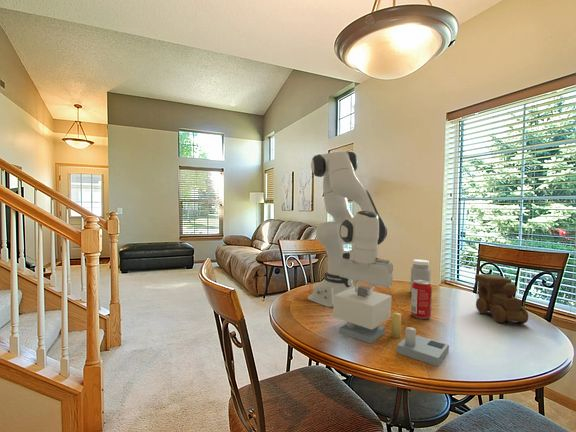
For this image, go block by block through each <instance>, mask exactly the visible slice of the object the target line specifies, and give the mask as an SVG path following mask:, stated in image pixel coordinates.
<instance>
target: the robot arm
mask: <svg viewBox="0 0 576 432" xmlns="http://www.w3.org/2000/svg"><path fill="white" fill-rule="evenodd" d="M358 165H359V159H358V156H357V154H356V153H355V152H354V151H333V152H328V153H323V154H316V155H313V157H312V158H311V162H310V169H311V172H312V173H313V175H314V176H315V177H318V178H322V177H323V179H322V180H323V181H322V192H323V193H322V195H323V200H324V201H323V202H324V209H325V212H326V213H327V214H329V215H330V216H331V217H332V218H333V219H334V221H326V222H322V223H321V222H320V223H319V224H318V225H317V227H316V230H315V237H316V240H317V241H318V242H319V243H320V244H321V245H322V247H323V248H324V250H325V253H326V256H327V272H325V273H323V274H322V276H323V277H324V278H323V280H322V281H319V283H317V284H315V285H314V286H313V289H312V294H309V295H308V296H307V300H309V301H311V302H314V303H316V304H319V305H322V306H324V307H327V308H333V307H334V295H335V294H338V293H340V292H343V291H345V290H348V289H350V288H352V285H353V287H355V292H357V293H358V287H360V286H359V282H360V283H365V284H368V287H369V289H368V290H366V295H368V296H371V295H372V291H374V289H375V287H376V286H378V287H382V288H389V287H391V286H392V285H393V283H394V282H393V281H394V279H393V271H394V265H393V264H394V263H392V262H391V261H390V260H388V259H383V258H378V257H379V246H378V245H380V244H382V243H383V242H384V241H385V240H386V238H387V237H388V228H387V225H386V224H385V222H384V221H383V219H382V217H381V216H380V214H379V212H378V209H377V207H376V205H375V203H374V200H373V199H372V196H371V193H370V192H369V190H368V189H367V188H366V186H365V185H363V184H362V182H361V181H360V180H359V179H358V178H357V175H356V171H357V169H358ZM349 200H350V201H352V202H355V203H356V204H357V205H358V206H359V208H360V209H361V211H360V210H359V211H357V212H356V213H355V214H354V215H355V216H354V215H353V213H352V212H351V209H350V206H349V202H348V201H349ZM344 245H352V250H347V251H345V248H344Z"/></svg>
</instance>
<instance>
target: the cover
mask: <svg viewBox="0 0 576 432" xmlns="http://www.w3.org/2000/svg"><path fill="white" fill-rule="evenodd" d="M368 289H370V287H369V286H365V285H360V286H359V287H358V293H357V292H355V287H354V286H353V287H351V288H350V289H348V290H345V291H343V292H340V293H338V294H335V295H334V307H332V309H333V310H332V311H333V313H332V317H333V318H336V319H339V320H341V321H345V322H347V321H348V322H350V323H353V324H356V325H359V326H362V327H365V328H368V329H371V330H373V329H374V328H376V327H377V326H378V325H379V326H381V324H383V323H384V322H386V321H387V320H389V319H390V318H392V314H391V313H392V299H393V298H392V297H393V296H392V295H390V294H387V293H381V292H378V291H374V290H372V295H371V296H368V295H366V290H368Z"/></svg>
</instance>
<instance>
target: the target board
mask: <svg viewBox="0 0 576 432" xmlns="http://www.w3.org/2000/svg"><path fill="white" fill-rule="evenodd" d="M404 337H405V338H403V339H402V340H401V341H399V343H397V344H396V353H397V354H400V355H403V356H405V357H409V358H412V359H415V360H417V361H422V362H424V363H425V364H429V365H432V366H435V367H439V366H440V365H441V363H442V362H443V361H444V359H445V358H446V357H447V356H448V354H449V352H450V350H449V348H450V344H449V343H446V342H441V341H439V340H435V339H432V338H429V337H424V336H421V335H417V329H416V328H415V327H410V326H407V327H405V336H404Z"/></svg>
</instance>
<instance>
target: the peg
mask: <svg viewBox="0 0 576 432" xmlns="http://www.w3.org/2000/svg"><path fill="white" fill-rule="evenodd" d="M391 313H392V314H391V337H393V338H395V339H399V338H401V337H402V336H401V335H402V334H401V329H402V327H401V326H402V313H400V312H391Z"/></svg>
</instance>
